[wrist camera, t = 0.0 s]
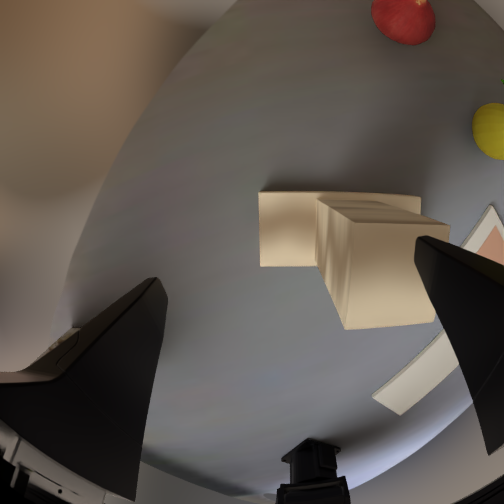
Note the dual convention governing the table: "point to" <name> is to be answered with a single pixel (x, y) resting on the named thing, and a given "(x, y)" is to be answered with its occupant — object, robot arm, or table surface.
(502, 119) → the lemon
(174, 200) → the table surface
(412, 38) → the onion
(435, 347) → the tee mat
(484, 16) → the table surface
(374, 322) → the birch tee block
